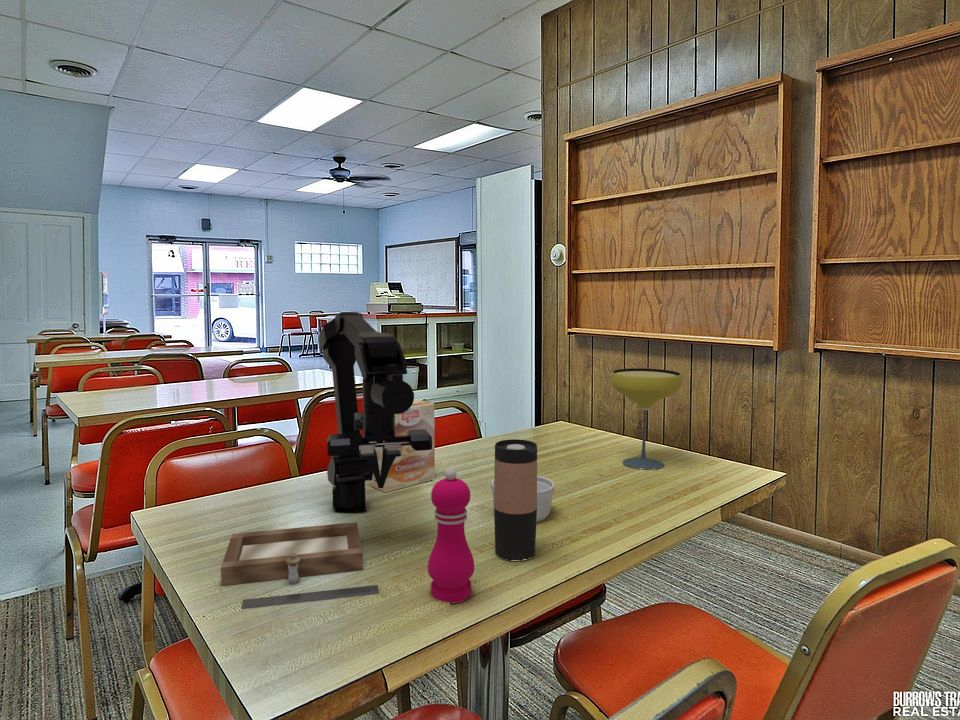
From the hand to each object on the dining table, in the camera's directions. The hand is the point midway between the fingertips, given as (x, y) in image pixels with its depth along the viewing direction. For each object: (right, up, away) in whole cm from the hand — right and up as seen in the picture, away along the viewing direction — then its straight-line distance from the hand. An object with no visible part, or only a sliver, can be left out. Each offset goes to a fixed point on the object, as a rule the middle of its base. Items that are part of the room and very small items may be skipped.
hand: (380, 487), depth 115 cm
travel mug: (+25, -11, -3) cm, 27 cm away
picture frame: (-13, -11, -8) cm, 19 cm away
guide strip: (-7, -13, -20) cm, 25 cm away
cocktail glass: (+62, -5, +53) cm, 82 cm away
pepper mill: (+14, -13, -18) cm, 26 cm away
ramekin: (+27, -9, +16) cm, 33 cm away
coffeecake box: (0, -7, +37) cm, 37 cm away
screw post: (-12, -12, -15) cm, 23 cm away
